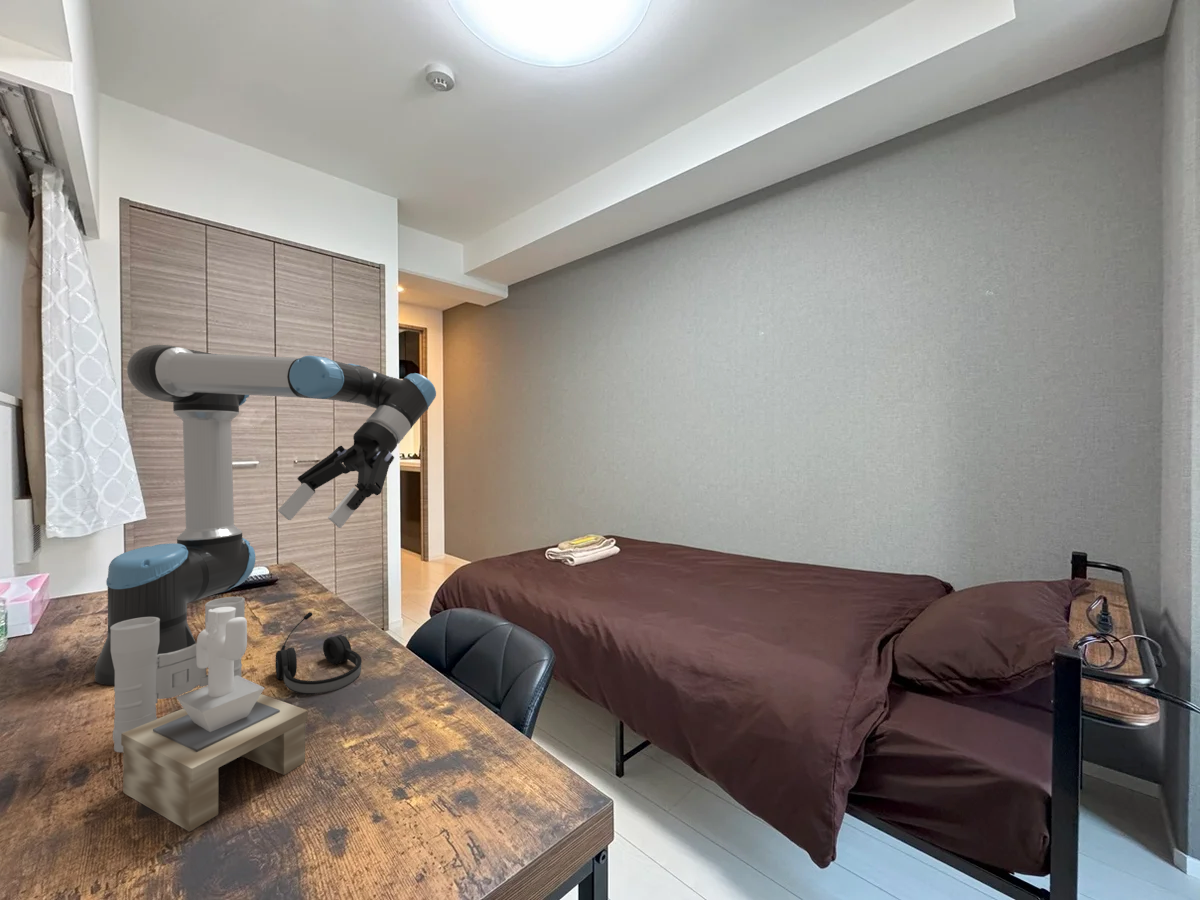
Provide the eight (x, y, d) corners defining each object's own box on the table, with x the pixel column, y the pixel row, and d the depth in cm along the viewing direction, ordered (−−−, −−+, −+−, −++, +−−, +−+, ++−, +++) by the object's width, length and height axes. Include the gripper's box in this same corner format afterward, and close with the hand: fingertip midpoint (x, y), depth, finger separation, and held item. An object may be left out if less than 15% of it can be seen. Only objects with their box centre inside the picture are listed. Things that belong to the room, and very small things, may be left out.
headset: (336, 605, 108) (374, 639, 95) (333, 646, 109) (372, 685, 96) (266, 620, 99) (299, 661, 86) (264, 665, 99) (296, 712, 87)
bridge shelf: (121, 791, 64) (121, 731, 64) (238, 734, 77) (238, 684, 77) (191, 833, 57) (192, 766, 57) (307, 763, 70) (307, 708, 70)
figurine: (233, 698, 72) (233, 595, 72) (269, 716, 68) (269, 606, 68) (171, 722, 66) (172, 609, 66) (206, 744, 62) (206, 623, 61)
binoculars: (234, 695, 89) (234, 594, 88) (251, 703, 86) (251, 599, 86) (103, 747, 73) (103, 625, 73) (119, 758, 71) (119, 632, 71)
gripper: (438, 448, 96) (371, 539, 83) (351, 445, 107) (279, 524, 94) (417, 420, 92) (342, 512, 79) (328, 419, 103) (249, 499, 90)
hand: (308, 519), depth 86 cm, fingers open, 13 cm apart
